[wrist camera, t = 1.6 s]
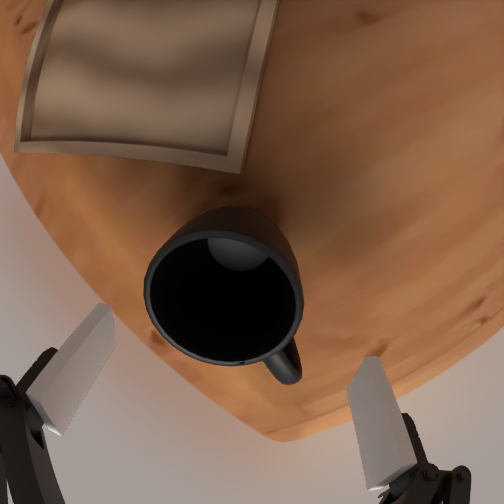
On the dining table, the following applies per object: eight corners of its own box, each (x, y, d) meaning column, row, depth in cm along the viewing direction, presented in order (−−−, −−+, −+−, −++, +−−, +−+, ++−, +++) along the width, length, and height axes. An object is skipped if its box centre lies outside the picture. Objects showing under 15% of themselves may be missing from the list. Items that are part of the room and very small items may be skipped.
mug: (247, 330, 25) (237, 412, 17) (170, 223, 22) (113, 278, 13) (327, 293, 23) (352, 373, 15) (257, 170, 20) (247, 193, 11)
